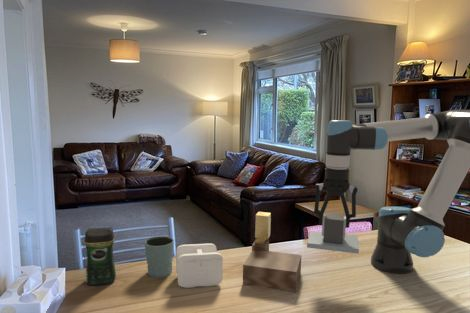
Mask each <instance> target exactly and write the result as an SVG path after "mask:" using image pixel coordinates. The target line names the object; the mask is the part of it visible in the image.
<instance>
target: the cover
mask: <svg viewBox="0 0 470 313" xmlns="http://www.w3.org/2000/svg"><path fill="white" fill-rule="evenodd" d="M324 215H325V222H324V236H322V231H317V230H316V231H315V230H310V233H309V235H308V240H307V243H306V248H308V249H314V250H315V249H316V250H323V251H324V250H325V251H334V252H339V253H340V252H342V253H349V254H358V255H359V253H360V251H359V250H360V249H359V248H360V247H359V237H358V235H351V234H345V238H343V226H344V217H345V213H337V212H329V211H328V212H325V214H324Z"/></svg>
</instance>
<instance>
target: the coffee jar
mask: <svg viewBox="0 0 470 313" xmlns="http://www.w3.org/2000/svg"><path fill="white" fill-rule="evenodd" d="M114 243H115V233H114V229H113V227H111V226H110V227H109V226H108V227H97V228H95V227H93V228H88V229H87V230H86V231H85V232H84V246H85V249H86V270H85V281H86V284H87V285H90V286H100V285H107V284H112V283H113V282H114V281H115V280H116V278H117V275H116V274H117V272H116V267H115V266H116V265H115V260H114V249H113V248H114V247H113V246H114Z"/></svg>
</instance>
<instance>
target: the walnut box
mask: <svg viewBox="0 0 470 313" xmlns="http://www.w3.org/2000/svg"><path fill="white" fill-rule="evenodd" d="M256 240H257V238H255V240H254V241H253V243H252V244H251V251H250V254H249V255H247V256H248V257H247V258H246V259H245V261H244V263H243V265H242V285H243V286H252V287H256V288H262V289H264V288H265V289H269V290H270V289H271V290H277V291H286V292H291V293H296V292H297V289H298V286H299V281H300V278H301V277H300V276H301V273H302V272H301V271H302V254H295V253H287V252H278V251H271V250H270V239H269V238H268V239H266V241H265V243H264V244H256Z"/></svg>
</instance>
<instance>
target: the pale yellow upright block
mask: <svg viewBox="0 0 470 313" xmlns="http://www.w3.org/2000/svg"><path fill="white" fill-rule="evenodd" d="M271 214H272V213H271V212H265V211H258V212H257V213H256V214H255V224H254V225H255V230H254V238H255V240H256V239H257V240H256V244H264V243H265V241H266V239H268V240H269V238H270V237H271V226H272V225H271V222H272V218H271V217H272V215H271Z"/></svg>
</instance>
